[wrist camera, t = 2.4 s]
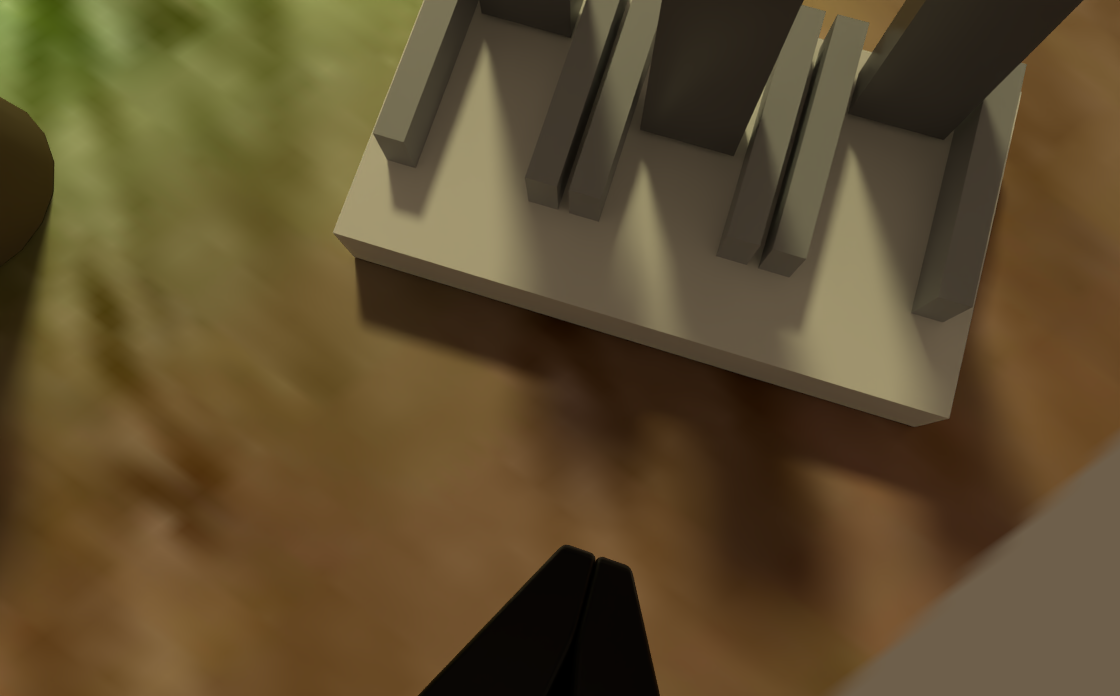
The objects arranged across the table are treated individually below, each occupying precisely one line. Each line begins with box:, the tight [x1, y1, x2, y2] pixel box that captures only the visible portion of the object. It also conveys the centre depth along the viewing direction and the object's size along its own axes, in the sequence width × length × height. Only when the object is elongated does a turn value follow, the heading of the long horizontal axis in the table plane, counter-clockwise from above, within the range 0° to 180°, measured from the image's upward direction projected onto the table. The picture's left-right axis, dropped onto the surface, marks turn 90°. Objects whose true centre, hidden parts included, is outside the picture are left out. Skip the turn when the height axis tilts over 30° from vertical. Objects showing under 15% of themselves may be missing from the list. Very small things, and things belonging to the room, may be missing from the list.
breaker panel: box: [333, 0, 1027, 427], centre depth 21 cm, size 9×16×4 cm, turn 72°
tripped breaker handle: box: [640, 0, 803, 156], centre depth 16 cm, size 2×3×10 cm, turn 72°
